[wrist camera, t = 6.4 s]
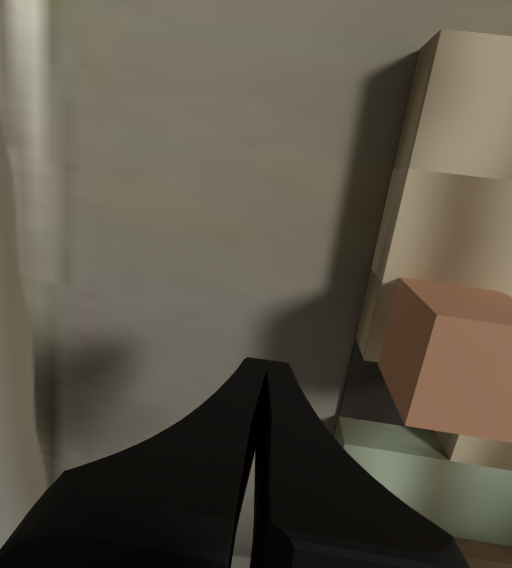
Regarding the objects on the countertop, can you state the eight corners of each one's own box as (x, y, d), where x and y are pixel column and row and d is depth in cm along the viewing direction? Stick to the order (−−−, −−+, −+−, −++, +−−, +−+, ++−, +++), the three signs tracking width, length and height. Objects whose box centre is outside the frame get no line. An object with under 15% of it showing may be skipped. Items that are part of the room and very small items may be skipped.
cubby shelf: (732, 71, 15) (859, 43, 12) (527, 524, 23) (567, 586, 20) (403, 36, 16) (433, 1, 13) (309, 488, 24) (312, 541, 20)
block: (501, 291, 17) (575, 334, 12) (471, 379, 18) (528, 445, 14) (399, 277, 17) (437, 314, 12) (377, 364, 18) (404, 425, 14)
